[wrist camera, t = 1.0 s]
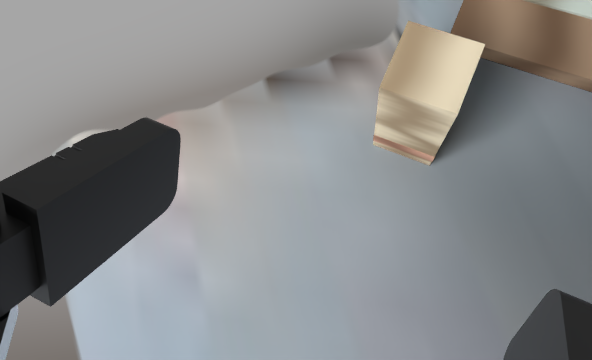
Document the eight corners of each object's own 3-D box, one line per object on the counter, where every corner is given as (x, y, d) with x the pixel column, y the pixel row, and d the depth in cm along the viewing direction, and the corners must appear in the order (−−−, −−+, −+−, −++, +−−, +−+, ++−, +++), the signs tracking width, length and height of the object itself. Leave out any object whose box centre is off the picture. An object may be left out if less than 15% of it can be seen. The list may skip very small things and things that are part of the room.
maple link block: (450, 113, 35) (486, 43, 26) (429, 166, 34) (458, 115, 25) (394, 94, 36) (408, 20, 27) (372, 144, 35) (378, 87, 26)
